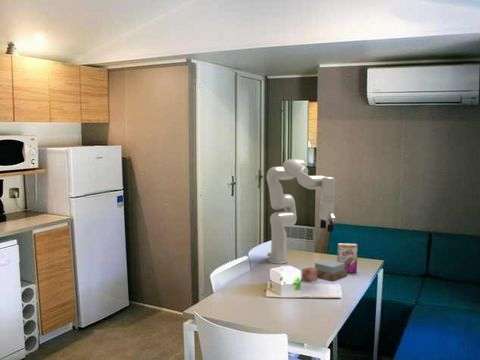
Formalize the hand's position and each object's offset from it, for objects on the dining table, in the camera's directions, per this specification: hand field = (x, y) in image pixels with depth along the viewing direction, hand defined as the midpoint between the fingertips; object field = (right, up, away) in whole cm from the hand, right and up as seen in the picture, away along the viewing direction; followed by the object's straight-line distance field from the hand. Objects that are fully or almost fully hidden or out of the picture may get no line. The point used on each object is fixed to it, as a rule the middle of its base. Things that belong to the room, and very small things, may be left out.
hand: (326, 229), depth 260 cm
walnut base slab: (+3, -28, +7) cm, 29 cm away
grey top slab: (+3, -24, +7) cm, 25 cm away
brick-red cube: (-10, -28, 0) cm, 29 cm away
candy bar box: (+15, -27, +16) cm, 35 cm away
